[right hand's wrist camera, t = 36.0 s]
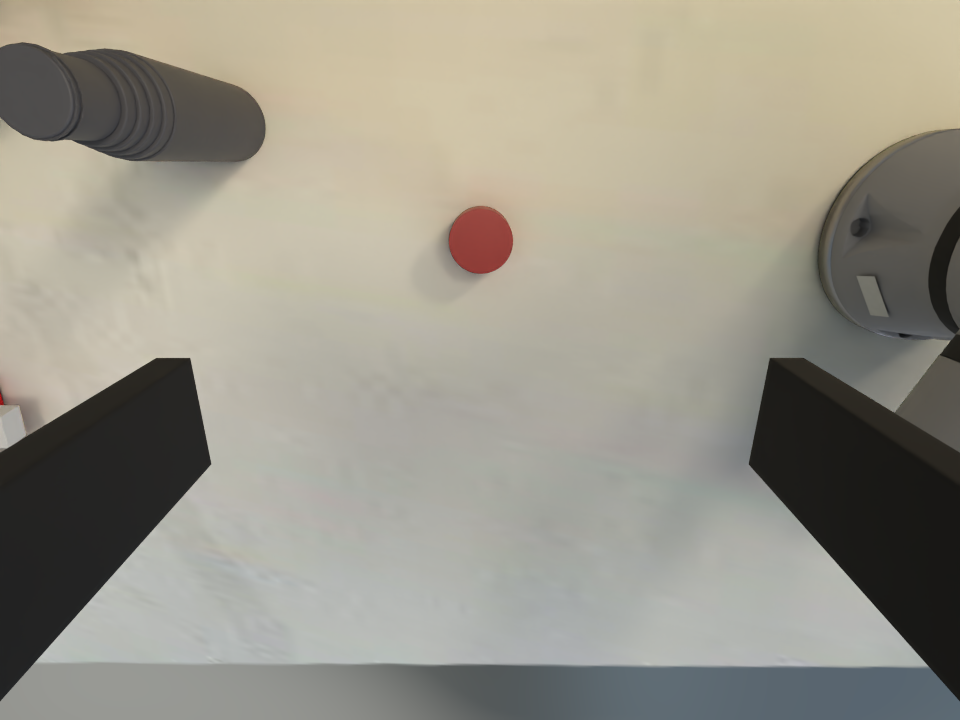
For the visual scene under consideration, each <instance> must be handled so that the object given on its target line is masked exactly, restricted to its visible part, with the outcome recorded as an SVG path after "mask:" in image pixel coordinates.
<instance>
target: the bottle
mask: <svg viewBox="0 0 960 720" xmlns="http://www.w3.org/2000/svg"><path fill="white" fill-rule="evenodd" d="M0 117H1V118H2V119H3V120H4V121H5V122H6V123H7V124H8V125H9V126H11V127H12V128H13V129H15V130H16V131H18V132H19V133H21V134H22V135H24V136H27V137H29V138H32V139H35V140H42V141H59V140H73V141H75V142H77V143H79V144H82V145H85V146H87V147H89V148H92V149H94V150H97V151H99V152H102V153H105V154H107V155H109V156H112V157H115V158H120V159H125V160H129V161H242V160H246V159H248V158H250V157H252V156H253V155H254V154H255V153H256V152H257V151H258V150H259V149H260V147H261V145H262V143H263V140H264V136H265V121H264V116H263V113H262V111H261V109H260V107H259V105H258V103H257V102H256V101H255V99H254V98H253V97H252V96H251V95H250V94H249V93H248V92H246V91H245V90H243V89H242V88H240V87H238V86H235V85H232V84H229V83H226V82H223V81H219V80H216V79H213V78H210V77H207V76H203V75H200V74H197V73H194V72H191V71H188V70H184V69H181V68H178V67H175V66H172V65H168V64H165V63H162V62H159V61H156V60H153V59H149V58H146V57H143V56H140V55H137V54H134V53H130V52H127V51H122V50H113V49H96V50H87V51H78V52H69V53H64V54H61V53H57V52H53V51H51V50H49V49H46V48H44V47H42V46H39V45H36V44H30V43H23V42H22V43H16V44H9V45H6V46H3V47H1V48H0Z"/></svg>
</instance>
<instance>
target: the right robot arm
mask: <svg viewBox="0 0 960 720" xmlns="http://www.w3.org/2000/svg"><path fill="white" fill-rule="evenodd" d="M818 262H819V273H820V278H821V282H822V285H823V288H824V290H825V293H826V295H827V297H828V298H829V300H830V302H831V303H832V305H833V306H834V307H835V308H836V310H837V311H838V312H839V313H840V314H841V315H843V316H844V317H845V318H846V319H848V320H849V321H851V322H853V323H854V324H856V325H858V326H860V327H863V328H865V329H867V330H870V331H872V332H874V333H877V334H880V335H883V336H888V337H894V338H899V339H908V340H924V339H939V340H951V341H950V343H949V344H948V345H947V347H946V348H945V349H944V350H943V352H942V353H941V354H940V355H939V356H938V357H937V358H936V360H935V361H934V362H933V364H932V365H931V366H930V368H929V369H928V370H927V371H926V373H925V374H924V375H923V377H922V378H921V379H920V381H919V382H918V383H917V384H916V386H915V387H914V388H913V390H912V391H911V392H910V394H909V395H908V396H907V397H906V399H905V400H904V401H903V403H902V404H901V405H900V407H899V408H898V409H897V411H896V412H895V413H894V412H892V411H890V410H889V409H887V408H885V407H884V406H882V405H880V404H879V403H877V402H875V401H874V400H872V399H870V398H869V397H867V396H866V395H864V394H862V393H861V392H859V391H857V390H856V389H854V388H852V387H851V386H849V385H847V384H846V383H844V382H842V381H841V380H839V379H837V378H836V377H834V376H832V375H831V374H829V373H827V372H826V371H824V370H822V369H821V368H819V367H818V366H816V365H814V364H813V363H811V362H809V361H808V360H806V359H804V358H770V360H769V365H768V370H767V375H766V380H765V385H764V390H763V395H762V400H761V405H760V410H759V415H758V420H757V425H756V430H755V435H754V440H753V445H752V450H751V455H750V460H749V465H750V466H751V467H752V468H753V470H754V471H755V472H756V473H757V474H758V475H759V476H760V477H761V479H762V480H763V481H764V482H765V483H766V484H767V485H768V486H769V488H770V489H771V490H772V491H773V492H774V493H775V494H776V495H777V496H778V498H779V499H780V500H781V501H782V502H783V503H784V504H785V505H786V507H787V508H788V509H789V510H790V511H791V512H792V513H793V514H794V516H795V517H796V518H797V519H798V520H799V521H800V522H801V523H802V525H803V526H804V527H805V528H806V529H807V530H808V531H809V532H810V534H811V535H812V536H813V537H814V538H815V539H816V540H817V541H818V543H819V544H820V545H821V546H822V547H823V548H824V549H825V550H826V552H827V553H828V554H829V555H830V556H831V557H832V558H833V559H834V560H835V562H836V563H837V564H838V565H839V566H840V567H841V568H842V569H843V571H844V572H845V573H846V574H847V575H848V576H849V577H850V578H851V580H852V581H853V582H854V583H855V584H856V585H857V586H858V587H859V589H860V590H861V591H862V592H863V593H864V594H865V595H866V596H867V598H868V599H869V600H870V601H871V602H872V603H873V604H874V605H875V607H876V608H877V609H878V610H879V611H880V612H881V613H882V614H883V615H884V617H885V618H886V619H887V620H888V621H889V622H890V623H891V624H892V626H893V627H894V628H895V629H896V630H897V631H898V632H899V633H900V635H901V636H902V637H903V638H904V639H905V640H906V641H907V642H908V644H909V645H910V646H911V647H912V648H913V649H914V650H915V651H916V653H917V654H918V655H919V656H920V657H921V658H922V659H923V660H924V662H925V663H926V664H927V665H928V666H929V667H930V668H931V669H932V670H933V672H934V673H935V674H936V675H937V676H938V677H939V678H940V679H941V681H942V682H943V683H944V684H945V685H946V686H947V687H948V688H949V690H950V691H951V692H952V693H953V694H954V695H955V696H956V697H957V699H958V700H959V701H960V129H948V130H937V131H931V132H926V133H922V134H919V135H915V136H913V137H910V138H907V139H905V140H903V141H901V142H899V143H896V144H894V145H893V146H891V147H889V148H888V149H886V150H884V151H883V152H881V153H880V154H878V155H877V156H876V157H874V158H873V159H872V160H870V161H869V162H868V163H867V164H866V165H864V166H863V167H862V168H861V169H860V170H859V171H858V172H857V173H856V174H855V175H854V177H853V178H852V179H851V180H850V181H849V182H848V183H847V185H846V186H845V187H844V189H843V190H842V191H841V193H840V195H839V196H838V198H837V199H836V201H835V203H834V205H833V206H832V208H831V210H830V212H829V215H828V217H827V219H826V222H825V225H824V228H823V231H822V235H821V239H820V245H819V258H818ZM210 465H211V460H210V455H209V450H208V445H207V440H206V435H205V430H204V425H203V420H202V415H201V410H200V405H199V400H198V395H197V390H196V385H195V380H194V375H193V370H192V365H191V360H190V358H156V359H154V360H152V361H151V362H149V363H147V364H146V365H144V366H142V367H141V368H139V369H138V370H136V371H134V372H133V373H131V374H129V375H128V376H126V377H124V378H123V379H121V380H119V381H118V382H116V383H114V384H113V385H111V386H109V387H108V388H106V389H104V390H103V391H101V392H99V393H98V394H96V395H94V396H93V397H91V398H90V399H88V400H86V401H85V402H83V403H81V404H80V405H78V406H76V407H75V408H73V409H71V410H70V411H68V412H66V413H65V414H63V415H61V416H60V417H58V418H56V419H55V420H53V421H51V422H50V423H48V424H47V425H45V426H43V427H42V428H40V429H38V430H37V431H35V432H33V433H32V434H30V435H28V436H27V437H25V438H23V439H22V440H20V441H18V442H17V443H15V444H13V445H12V446H10V447H8V448H7V449H5V450H3V451H2V452H0V701H1V700H2V699H3V697H4V696H5V695H6V694H7V693H8V692H9V691H10V690H11V688H12V687H13V686H14V685H15V684H16V683H17V682H18V681H19V679H20V678H21V677H22V676H23V675H24V674H25V673H26V672H27V671H28V669H29V668H30V667H31V666H32V665H33V664H34V663H35V662H36V660H37V659H38V658H39V657H40V656H41V655H42V654H43V653H44V651H45V650H46V649H47V648H48V647H49V646H50V645H51V644H52V642H53V641H54V640H55V639H56V638H57V637H58V636H59V635H60V633H61V632H62V631H63V630H64V629H65V628H66V627H67V626H68V624H69V623H70V622H71V621H72V620H73V619H74V618H75V617H76V615H77V614H78V613H79V612H80V611H81V610H82V609H83V608H84V607H85V605H86V604H87V603H88V602H89V601H90V600H91V599H92V598H93V596H94V595H95V594H96V593H97V592H98V591H99V590H100V589H101V587H102V586H103V585H104V584H105V583H106V582H107V581H108V580H109V578H110V577H111V576H112V575H113V574H114V573H115V572H116V571H117V569H118V568H119V567H120V566H121V565H122V564H123V563H124V562H125V560H126V559H127V558H128V557H129V556H130V555H131V554H132V553H133V552H134V550H135V549H136V548H137V547H138V546H139V545H140V544H141V543H142V541H143V540H144V539H145V538H146V537H147V536H148V535H149V534H150V532H151V531H152V530H153V529H154V528H155V527H156V526H157V525H158V523H159V522H160V521H161V520H162V519H163V518H164V517H165V516H166V514H167V513H168V512H169V511H170V510H171V509H172V508H173V507H174V505H175V504H176V503H177V502H178V501H179V500H180V499H181V498H182V496H183V495H184V494H185V493H186V492H187V491H188V490H189V489H190V488H191V486H192V485H193V484H194V483H195V482H196V481H197V480H198V479H199V477H200V476H201V475H202V474H203V473H204V472H205V471H206V470H207V468H208V467H209V466H210Z"/></svg>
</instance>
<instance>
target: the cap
mask: <svg viewBox="0 0 960 720" xmlns="http://www.w3.org/2000/svg"><path fill="white" fill-rule="evenodd" d="M512 246H513V237H512V232H511V229H510V227H509V225H508V223H507V221H506V219H505V218H504V217H503V216H502V214H500V213H499V212H498V211H496V210H495V209H492V208H490V207H485V206H476V207H472V208H469V209H467V210H465V211H464V212H462V213H461V214H460V215H459V216H458V217H457V219H456V220H455V222H454V224H453V226H452V228H451V231H450V235H449V247H450V251H451V254H452V256H453V258H454V260H455V261H456V262H457V263H458V264H459V265H460V266H461V267H462V268H464V269H465V270H467V271H470V272H473V273H478V274H483V273H489V272H492V271H495V270H496V269H498V268H499V267H501V266H502V265H503V264H504V263H505V262H506V261H507V259H508V257H509V256H510V253H511V250H512Z"/></svg>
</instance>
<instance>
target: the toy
mask: <svg viewBox="0 0 960 720" xmlns="http://www.w3.org/2000/svg"><path fill="white" fill-rule="evenodd" d="M26 435H27V434H26V430H25V426H24V423H23V419H22V415H21V411H20V407H19V405H4V403H3V400H2V396H1V393H0V452H2V451H3V450H5V449H7V448H8V447H10V446H12V445H13V444H15V443H17V442H18V441H19V440H21V439H22V438H23V437H25V436H26Z"/></svg>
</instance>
